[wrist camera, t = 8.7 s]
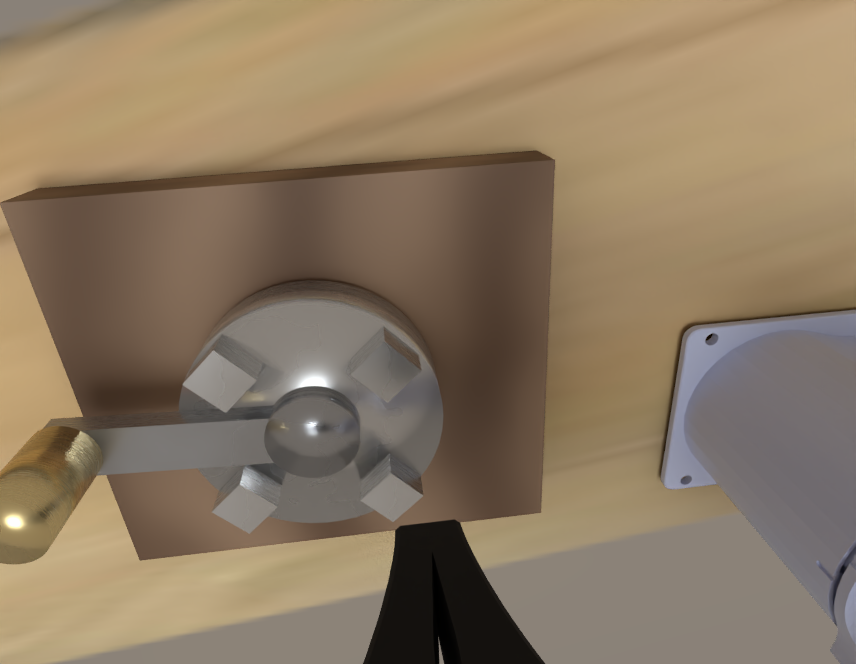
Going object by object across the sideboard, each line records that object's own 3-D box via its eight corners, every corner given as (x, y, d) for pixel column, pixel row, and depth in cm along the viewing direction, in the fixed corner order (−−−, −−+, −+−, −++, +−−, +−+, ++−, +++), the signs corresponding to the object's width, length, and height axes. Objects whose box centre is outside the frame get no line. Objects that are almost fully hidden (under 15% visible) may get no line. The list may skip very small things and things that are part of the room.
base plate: (536, 150, 19) (556, 160, 17) (528, 480, 25) (541, 514, 23) (36, 188, 18) (-3, 203, 16) (156, 523, 24) (138, 562, 22)
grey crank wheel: (435, 274, 18) (464, 360, 13) (436, 475, 21) (459, 605, 16) (35, 292, 17) (-111, 393, 12) (104, 499, 20) (15, 648, 15)
